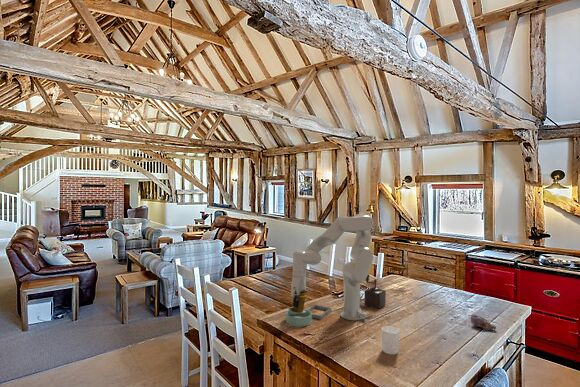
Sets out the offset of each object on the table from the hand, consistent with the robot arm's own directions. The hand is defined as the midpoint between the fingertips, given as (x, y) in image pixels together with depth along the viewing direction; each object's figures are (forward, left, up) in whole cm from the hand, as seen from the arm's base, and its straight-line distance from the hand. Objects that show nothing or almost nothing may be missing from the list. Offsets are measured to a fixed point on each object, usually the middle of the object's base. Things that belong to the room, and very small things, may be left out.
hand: (298, 304), depth 181 cm
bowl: (0, 0, -9) cm, 9 cm away
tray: (-4, -16, -9) cm, 19 cm away
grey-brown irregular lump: (-89, -44, -10) cm, 100 cm away
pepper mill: (-27, -50, -9) cm, 58 cm away
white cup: (-52, +8, -9) cm, 54 cm away
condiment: (+1, +1, -3) cm, 3 cm away
